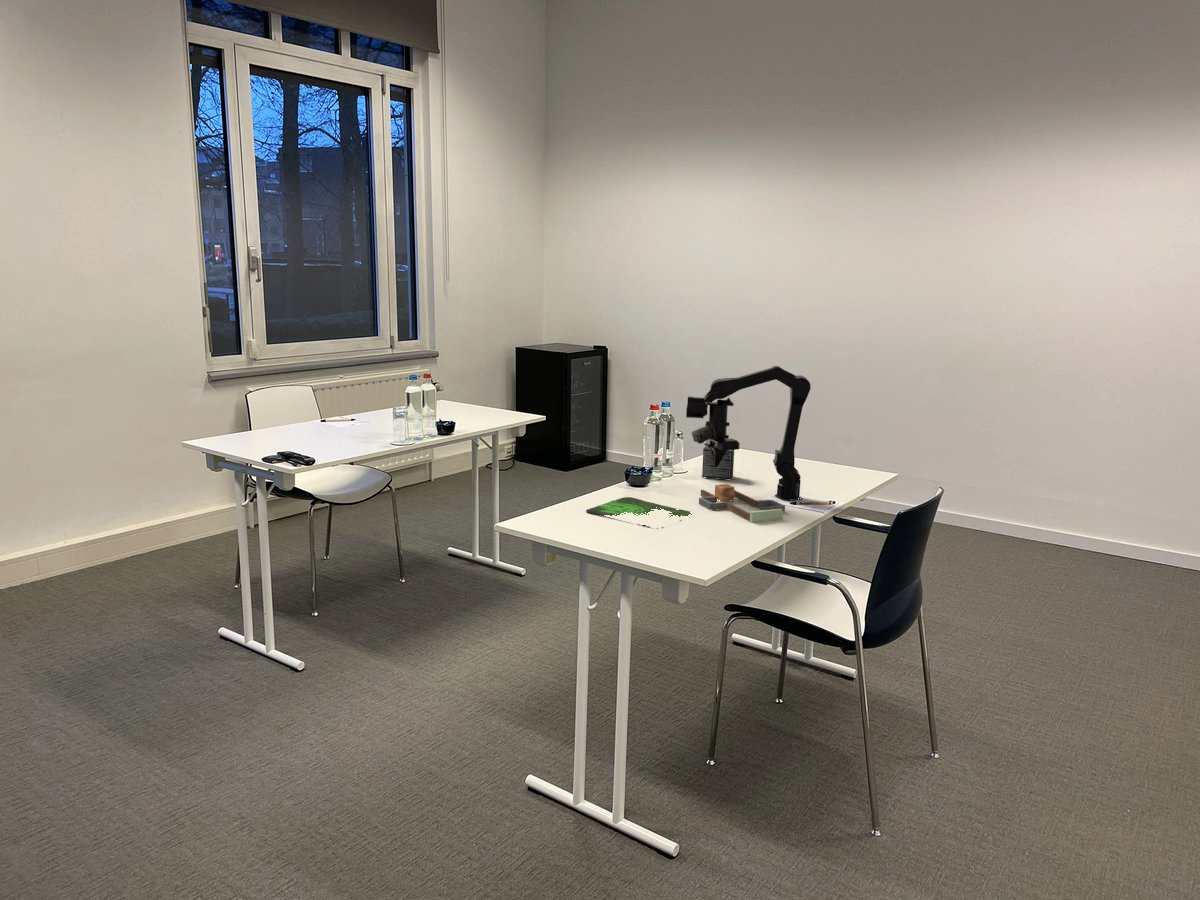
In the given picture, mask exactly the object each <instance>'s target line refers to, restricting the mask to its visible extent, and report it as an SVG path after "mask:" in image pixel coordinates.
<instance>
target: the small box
mask: <svg viewBox="0 0 1200 900" xmlns="http://www.w3.org/2000/svg"><path fill="white" fill-rule="evenodd" d="M734 461H735V450H727V451H726V453H725V454H724V456H723V458H722V460H721V461H720V463H719V465H718V466H717V467H715V466H714V465H713V461H712V457H711V453H710V450H709V449H708V448H707V447H706V446H705V445H704V447H703V449H702V471H701V478H702V477H706V478H705V479H712V478H719V479H718V480H725V479H732V480H733V478H732V477H734V465H735V464H734V463H735V462H734Z"/></svg>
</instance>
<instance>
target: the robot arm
mask: <svg viewBox="0 0 1200 900" xmlns="http://www.w3.org/2000/svg"><path fill="white" fill-rule="evenodd" d="M776 380H777V382H780V383H781V384H783V385H785V386H787V387H789V400H790V401H789V402H790V403H789V408H788V414H787V418H786V424H785V428H784V434H783V435H784V436H783V439H782V443H781V444H782V445H781V447H780V449H779V450H778V449H775V451H774V458H773V460H772V462H773V466H774V468H775V471H776V473H777V474H778V475H779V476H781V478H778V483H777V486H776V487H777V488H776V493H775V495H774V496H775V497H776V496H777V497H776V498H778V497H779V499H781V498H782V499H781V500H783V499H784V500H783V501H785V500H789V501H791V500H790V499H798V498H799V499H800V498H802V499H803V497H802V496H800V495H801V494H800V493H801V478H802V477H801V474H800V472H799V470H798V469H797V468H796V467H795V448H796V447H795V446H796V442H797V436H798V433H799V432H798V431H799V427H800V426H799V425H800V422H801V416H802V412H803V408H804V407H803V406H804V405H805V403H806V401H807V398H808V396H809V395H810V394H809V393H810V392H811V387H812V385H811V383H810V381H809V379H808V378H807V377H806V376H804V375H795V374H793V373H791V372H790V371H788V370H786V369H784V368H782V367H781V366H780V365H774V366H771V367H769V368H765V369H761V370H759V371H755V372H752V373H749V374H745V375H741V376H738V377H723V378H716V379H715V380H713V381H712V382H711V384H710V387H709V388H710V390H709V391H708V392H707V393H705V395H704V397H699V396H698V397H697V396H696V397H695V396H687V404H686V410H685V411H686V412H685V413H686V416H685V418H688V419H689V418H690V419H704V417H706V416H708V420H706V421H705V426H703V427H700V428H698V429H695V430H693V431H691V435H692V439H693V442H695V443H697V444H703V446H704V447H705V446H706V447H707V448H708V449H709V450H710V453H711V457H712V461H713V465H714V466H715V467H717V466H718V465H719V463H720V461H721V460H722V458H723V456H724V454H725V453H726V451H727V450H734V451H735V450H740V444H741V443H740V442H739V441H738V440H736V439H734V438H730V435H729V434H727V427H730V422H728V407H733V406H734V402H733V401H732V400H731V399H730V397H729V396H731V395H733V394H735V393H736V392H738V391H740V390H744V389H747V388H750V387H754V386H757V385H761V384H764V383H769V382H771V381H776ZM708 406H709V407H708ZM708 408H709V413H708ZM800 500H801V499H800Z"/></svg>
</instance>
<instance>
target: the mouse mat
mask: <svg viewBox="0 0 1200 900" xmlns="http://www.w3.org/2000/svg"><path fill="white" fill-rule="evenodd" d="M656 507H657V508H656ZM660 508H661V509H664V510H666V511H670V512H672V513H669V514H673V515H675V516H676V515H678V516H679V517H680V516H681V515H682V516H688V515H689V514H691V513H690V512H691V511H690V510H685V509H681V508H678V509H679V510H676V509H677V508H674V507H671V506H668V505H667V506H666V505H663V504H658V503H654V502H650V501H646V500H643V499H639V498H635V497H632V496H631V497H629V496H628V497H627V496H625V497H621V498H617V499H614V500H611V501H609V502H606V503H603V504H600V505H597V506H594V507H591V508H587V509H586V510H585V512H587V513H589V514H591V513H592V514H591V515H595V514H597V515H596V516H598V515H602V516H604V515H610V516H612V515H615V514H616V515H615V516H617V515H620V514H621V513H624V512H627V513H629V512H630V513H631V512H632V513H633V514H634V515H636V514H638V515H640V514H641V513H643V514H646V515H647V513H648V512H650V511H654V510H651V509H658V510H661V509H660ZM645 512H646V513H645ZM635 513H636V514H635ZM624 514H626V513H624ZM643 514H641V515H643ZM622 515H623V514H622ZM638 515H637V516H638ZM648 515H649V514H648ZM673 515H671V516H673ZM691 515H692V514H691ZM602 516H601V517H602ZM671 516H670V517H671ZM645 526H646V525H643V526H642V527H645Z"/></svg>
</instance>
